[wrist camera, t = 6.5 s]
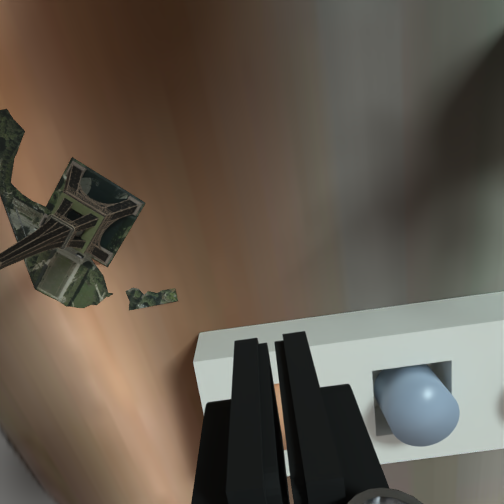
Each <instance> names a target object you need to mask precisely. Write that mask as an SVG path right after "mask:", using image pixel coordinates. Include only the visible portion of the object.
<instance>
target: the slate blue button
mask: <svg viewBox="0 0 504 504" xmlns="http://www.w3.org/2000/svg"><path fill="white" fill-rule="evenodd" d="M374 396H375V398H376V401H377V403H378V405H379V407H380V409H381V411H382V412H383V414H384V416H385V418H386V420H387V422H388V424H389V426H390V428H391V430H392V432H393V434H394V435H395V437H396V438H397V439H398V440H400V441H401V442H403V443H405V444H407V445H411V446H417V447H423V446H430V445H433V444H436V443H438V442H440V441H442V440H444V439H445V438H446V437H448V436H449V435H450V434H451V433H452V432H453V430H454V429H455V427H456V425H457V423H458V421H459V415H460V410H459V405H458V403H457V401H456V399H455V398H454V397H453V396H452V394H451V393H450V392H449V391H448V389H447V388H446V387H445V386H444V384H443V383H442V382H441V381H440V379H439V378H438V377H437V376H436V374H435V373H434V372H433V371H432V369H431V368H430V367H429V366H428V365H426V364H420V365H413V366H405V367H398V368H390V369H383V370H382V371H381V372H380V373H379V375H378V376H377V378H376V380H375V383H374Z"/></svg>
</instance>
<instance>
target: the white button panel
mask: <svg viewBox="0 0 504 504" xmlns="http://www.w3.org/2000/svg"><path fill="white" fill-rule="evenodd" d="M301 331H305V332H306V336H307V340H308V344H309V347H310V351H311V355H312V359H313V363H314V366H315V370H316V374H317V378H318V382H319V385H320V387H326V386H334V385H341V384H349V385H350V386H351V388H352V391H353V393H354V396H355V399H356V401H357V404H358V407H359V409H360V412H361V415H362V417H363V420H364V423H365V425H366V428H367V431H368V433H369V436H370V439H371V441H372V444H373V447H374V449H375V452H376V454H377V457H378V460H379V462H380V464H386V463H393V462H401V461H409V460H417V459H424V458H432V457H440V456H448V455H455V454H463V453H471V452H479V451H487V450H494V449H502V448H504V291H502V292H494V293H487V294H480V295H472V296H465V297H458V298H450V299H443V300H436V301H428V302H421V303H414V304H406V305H399V306H392V307H384V308H377V309H370V310H362V311H355V312H348V313H340V314H333V315H326V316H318V317H311V318H304V319H297V320H289V321H282V322H275V323H267V324H260V325H253V326H245V327H238V328H231V329H223V330H216V331H209V332H201V333H199V338H198V342H197V347H196V351H195V356H194V360H193V364H194V369H195V374H196V379H197V384H198V389H199V394H200V398H201V403H202V408H203V413H204V412H205V407H206V404H207V402H213V401H220V400H228V399H231V391H232V374H233V356H234V341H236V340H243V339H251V338H258V342H259V344H260V343H267V345H268V350H269V357H270V363H271V369H272V375H273V382H274V384H278V383H279V378H278V369H277V361H276V352H275V344H274V341H281V340H283V335H282V334H287V333H294V332H301ZM420 364H426V365H428V366H429V367H430V368H431V369H432V371H433V372H434V373H435V374H436V376H437V377H438V378H439V379H440V381H441V382H442V383H443V384H444V386H445V387H446V388H447V389H448V391H449V392H450V393H451V394H452V396H453V397H454V398H455V399H456V401H457V403H458V405H459V410H460V415H459V421H458V423H457V425H456V427H455V429H454V430H453V432H452V433H451V434H450V435H449V436H448V437H446V438H445V439H444V440H442V441H440V442H438V443H436V444H433V445H430V446H423V447H417V446H411V445H407V444H405V443H403V442H401V441H400V440H398V439H397V438H396V437H395V435H394V434H393V432H392V430H391V428H390V426H389V424H388V422H387V420H386V418H385V416H384V414H383V412H382V411H381V409H380V407H379V405H378V403H377V401H376V398H375V396H374V383H375V380H376V378H377V376H378V375H379V373H380V372H381V371H382V370H383V369H390V368H398V367H405V366H413V365H420ZM284 455H285V465H286V474H287V476H290V471H289V463H288V455H287V450H284Z"/></svg>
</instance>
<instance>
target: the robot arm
mask: <svg viewBox="0 0 504 504" xmlns="http://www.w3.org/2000/svg"><path fill="white" fill-rule="evenodd" d="M282 335H283V340H281V341H274V344H275V352H276V361H277V369H278V378H279V386H280V395H281V403H282V412H283V421H284V429H285V438H286V446H287V455H288V463H289V471H290V479H291V486H292V493H293V500H294V504H423V503H421V502H420V501H419V500H417V499H416V498H415V497H413V496H411V495H409V494H407V493H404V492H402V491H399V490H395V489H389V486H388V484H387V481H386V478H385V476H384V473H383V470H382V468H381V465H380V462H379V460H378V457H377V454H376V452H375V449H374V447H373V444H372V441H371V439H370V436H369V433H368V431H367V428H366V425H365V423H364V420H363V417H362V415H361V412H360V409H359V407H358V404H357V401H356V399H355V396H354V393H353V391H352V388H351V386H350V385H349V384H341V385H334V386H326V387H320V385H319V382H318V378H317V374H316V370H315V366H314V363H313V359H312V355H311V351H310V347H309V344H308V340H307V336H306V332H305V331H301V332H294V333H287V334H282ZM191 504H290V502H289V493H288V483H287V474H286V465H285V455H284V446H283V439H282V432H281V425H280V419H279V413H278V407H277V400H276V394H275V388H274V382H273V375H272V369H271V363H270V357H269V350H268V345H267V343H260V344H259V342H258V338H251V339H243V340H236V341H234V356H233V374H232V391H231V399H228V400H220V401H213V402H207V404H206V407H205V412H204V419H203V426H202V433H201V440H200V447H199V454H198V461H197V468H196V475H195V482H194V489H193V496H192V503H191Z"/></svg>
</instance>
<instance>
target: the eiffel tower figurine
mask: <svg viewBox="0 0 504 504" xmlns="http://www.w3.org/2000/svg"><path fill="white" fill-rule="evenodd" d="M24 133H25V131H24V130H23V128H22V127H21V126H20V125H19V124H18V123H17V122H16V121H15V120H14V119H13V118H12V116H11V115H10V113H9V111H8V110H7V109H4V110H0V196H1V199H2V202H3V204H4V207H5V210H6V213H7V215H8V218H9V221H10V223H11V226H12V229H13V232H14V234H15V237H16V240H17V242H18V243H16V244H15V245H13V246H11V247H10V248H8V249H7V250H5V251H3V252H2V253H0V269H2V268H4V267H7V266H9V265H11V264H14V263H16V262H19V261H21V260H23V259H24V261H25V264H26V267H27V269H28V272H29V275H30V277H31V280H32V283H33V285H34V288H35V289H36V290H38V291H39V292H41V293H43V294H45V295H47V296H49V297H51V298H53V299H56V300H57V301H59V302H61V303H62V304H64V305H65V306H71V307H76V308H85V307H87V306H89V305H97V304H99V303H100V302H101V301H102V300H103V299H104V298H105V297H109V296H110V295H112V294H113V293H108V291H107V287H106V283H105V280H104V276H103V275H102V273H101V272H100V271H99V269H98V268H97V266H96V265H95V264H94V262H93V260H92V259H94V260H96V261H98V262H99V263H101V264H103V265H105V266H106V267H108V266H109V264H110V263H111V261H112V259H113V258H114V256H115V254H116V252H117V251H118V249H119V247H120V246H121V244H122V242H123V241H124V239H125V237H126V236H127V234H128V232H129V230H130V229H131V227H132V225H133V224H134V222H135V220H136V219H137V217H138V215H139V213H140V212H141V210H142V208H143V207H144V205H145V202H143V201H142V200H140V199H138V198H137V197H135V196H134V195H132V194H130V193H129V192H127V191H126V190H124V189H122V188H121V187H119V186H118V185H116V184H114V183H113V182H111V181H110V180H108V179H106V178H105V177H103V176H102V175H100V174H98V173H97V172H95V171H93V170H92V169H90V168H89V167H87V166H85V165H84V164H82V163H81V162H79V161H77V160H76V159H74V158H73V157H72V158H71V160H70V162H69V164H68V166H67V168H66V169H65V171H64V173H63V175H62V177H61V179H60V181H59V183H58V185H57V187H56V189H55V190H54V192H53V194H52V196H51V198H50V200H49V202H48V204H47V206H46V207H45V206H43V205H40V204H38V203H36V202H33V201H32V200H30V199H29V198H27V197H26V196H24V195H23V194H21V193H20V192H19V191H18V190H17V189H16V188H15V187H14V186H13V185H12V184H11V177H12V170H13V163H14V158H15V156H16V154H17V151H18V148H19V146H20V143H21V140H22V138H23V135H24ZM91 258H92V259H91ZM126 294H127V296H128V299H129V301H130V304H129V310H134V309H139V308H144V307H149V306H154V305H160V304H165V303H170V302H176V301H178V299H177V294H176V289H175V288H174V289H168V290H162V291H160V292H158V293H155V292H150V291H148V292H147V293H146V294H145V295H144V294H143V293H142V292H141V291H140V290H139V289H136V288H131V289H129V290H127V291H126Z"/></svg>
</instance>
